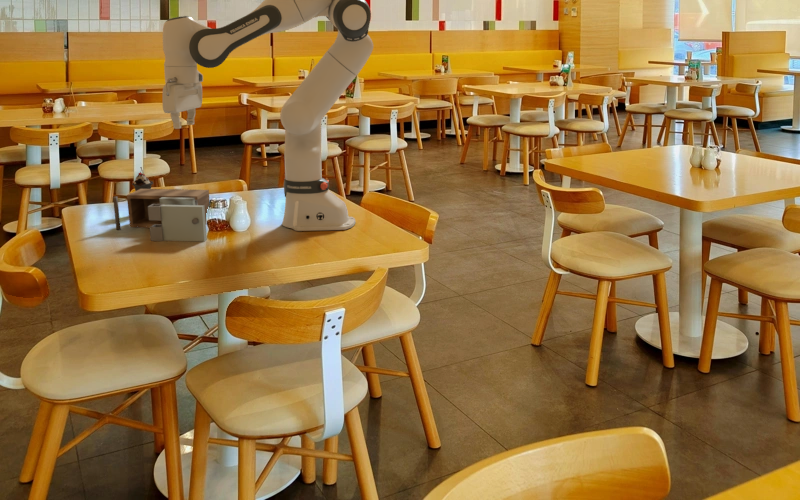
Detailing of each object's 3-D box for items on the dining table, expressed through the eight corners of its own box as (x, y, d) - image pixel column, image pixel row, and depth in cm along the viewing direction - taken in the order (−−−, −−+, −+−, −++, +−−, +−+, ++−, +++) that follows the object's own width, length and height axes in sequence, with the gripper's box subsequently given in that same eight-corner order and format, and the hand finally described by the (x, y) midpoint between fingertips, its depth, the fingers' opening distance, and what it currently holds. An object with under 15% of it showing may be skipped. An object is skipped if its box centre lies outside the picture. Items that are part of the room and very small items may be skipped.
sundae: (148, 210, 261) (143, 165, 257) (159, 212, 257) (155, 167, 253) (130, 213, 256) (126, 168, 252) (142, 216, 252) (137, 170, 248)
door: (207, 238, 225) (205, 204, 222) (202, 242, 221) (200, 207, 218) (155, 237, 226) (152, 203, 223) (150, 241, 222) (147, 206, 220)
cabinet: (211, 221, 246) (208, 189, 243) (193, 233, 231) (190, 200, 228) (135, 219, 248) (132, 188, 245) (113, 231, 234) (109, 198, 231)
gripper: (177, 79, 208) (180, 131, 212) (205, 75, 227) (207, 123, 231) (154, 78, 209) (158, 130, 212) (184, 74, 228) (187, 122, 232)
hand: (184, 126), depth 222 cm, fingers open, 8 cm apart
